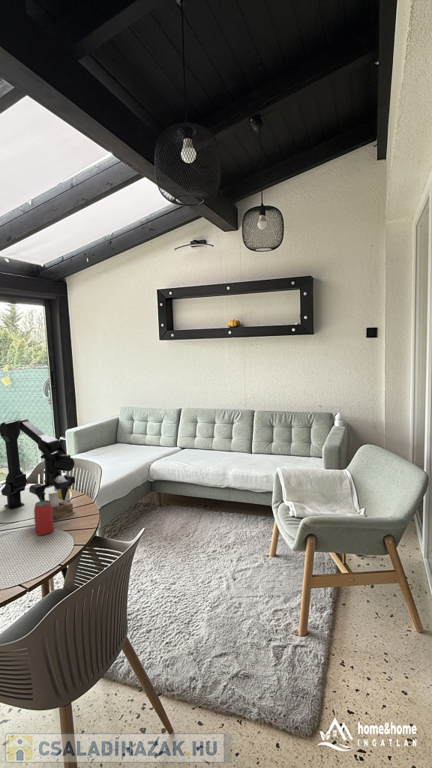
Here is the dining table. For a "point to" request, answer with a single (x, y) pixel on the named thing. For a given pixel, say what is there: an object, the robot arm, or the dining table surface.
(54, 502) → the peg
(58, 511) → the socket
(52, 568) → the dining table surface
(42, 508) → the beer can
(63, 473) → the supplement bottle
